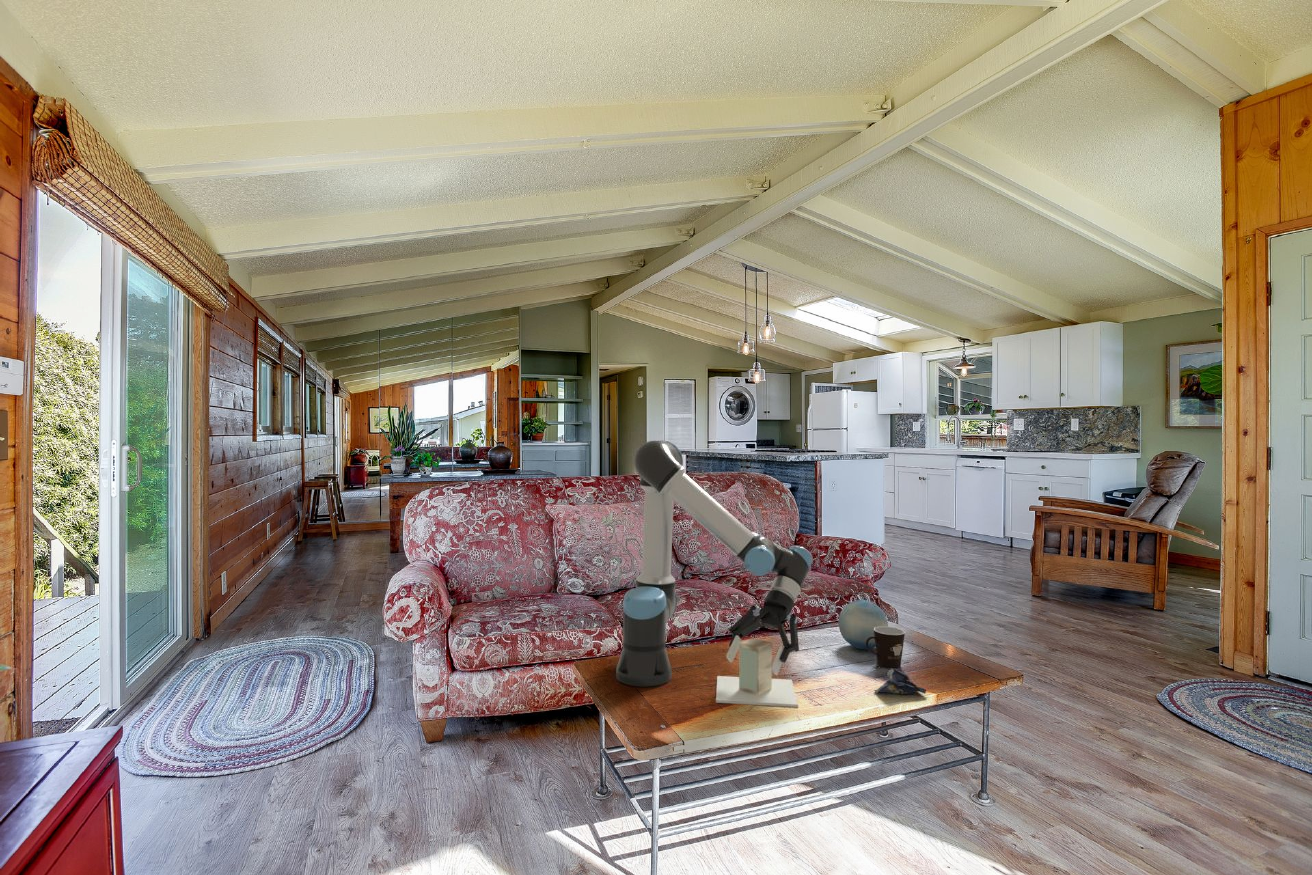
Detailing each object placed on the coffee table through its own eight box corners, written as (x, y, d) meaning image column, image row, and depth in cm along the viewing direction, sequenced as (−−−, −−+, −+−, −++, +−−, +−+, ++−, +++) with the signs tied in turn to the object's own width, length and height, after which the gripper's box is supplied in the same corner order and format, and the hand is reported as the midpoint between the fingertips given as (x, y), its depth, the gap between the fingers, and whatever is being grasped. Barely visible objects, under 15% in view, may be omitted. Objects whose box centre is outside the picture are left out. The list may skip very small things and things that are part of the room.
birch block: (738, 689, 170) (738, 643, 170) (752, 683, 175) (752, 637, 175) (757, 696, 166) (758, 648, 166) (771, 689, 171) (771, 642, 171)
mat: (715, 702, 163) (715, 699, 163) (717, 678, 180) (717, 675, 180) (798, 706, 161) (798, 704, 161) (791, 681, 178) (791, 679, 178)
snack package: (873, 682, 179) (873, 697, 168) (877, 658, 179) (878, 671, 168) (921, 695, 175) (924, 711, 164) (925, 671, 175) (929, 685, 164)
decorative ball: (898, 650, 205) (898, 602, 205) (865, 658, 197) (866, 608, 197) (860, 638, 218) (860, 593, 218) (828, 645, 210) (828, 598, 210)
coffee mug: (900, 660, 196) (900, 626, 196) (908, 670, 188) (908, 635, 188) (860, 658, 197) (860, 625, 197) (866, 668, 189) (866, 633, 189)
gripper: (828, 613, 174) (799, 685, 162) (748, 597, 190) (717, 662, 179) (818, 596, 170) (788, 669, 159) (738, 581, 186) (705, 647, 175)
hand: (750, 665), depth 169 cm, fingers open, 13 cm apart
